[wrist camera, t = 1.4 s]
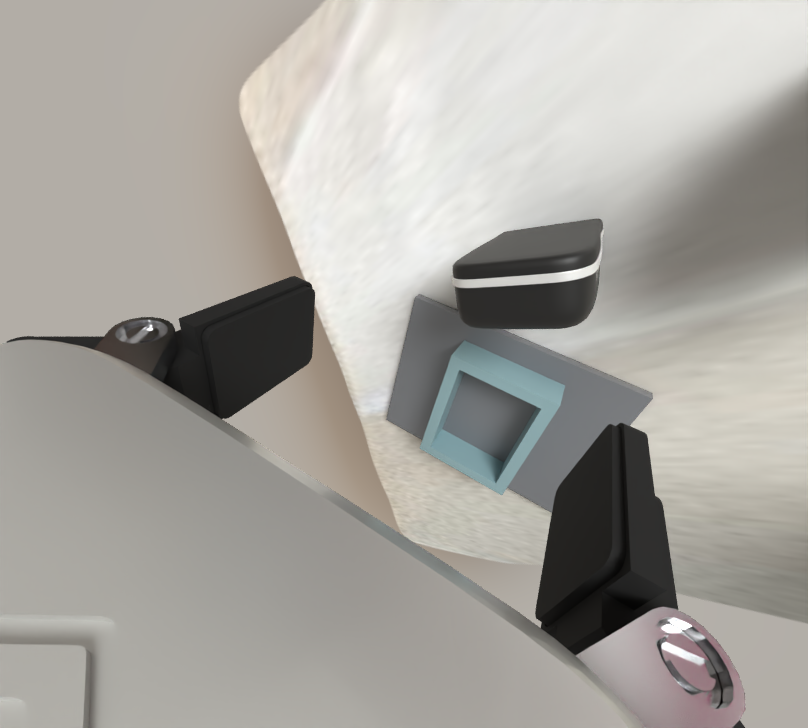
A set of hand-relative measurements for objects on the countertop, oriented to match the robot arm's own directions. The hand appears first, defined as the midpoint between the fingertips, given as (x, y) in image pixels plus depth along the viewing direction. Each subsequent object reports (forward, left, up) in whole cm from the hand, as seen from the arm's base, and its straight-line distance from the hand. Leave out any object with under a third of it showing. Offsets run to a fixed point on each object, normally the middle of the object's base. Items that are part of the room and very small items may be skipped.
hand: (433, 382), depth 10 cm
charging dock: (-1, +15, -19) cm, 24 cm away
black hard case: (0, 0, -20) cm, 20 cm away
